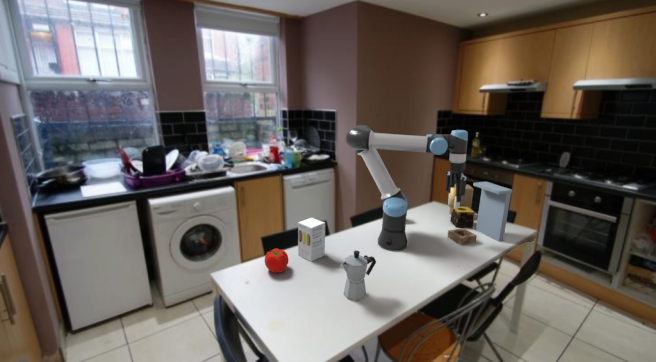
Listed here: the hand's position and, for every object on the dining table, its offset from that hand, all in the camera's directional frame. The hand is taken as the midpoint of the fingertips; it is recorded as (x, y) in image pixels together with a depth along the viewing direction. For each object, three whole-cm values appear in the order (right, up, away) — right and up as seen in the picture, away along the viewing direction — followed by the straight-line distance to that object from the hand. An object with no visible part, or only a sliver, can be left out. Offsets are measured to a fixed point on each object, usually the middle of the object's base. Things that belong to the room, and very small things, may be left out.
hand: (453, 206), depth 164 cm
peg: (0, 0, 0) cm, 0 cm away
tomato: (-87, -26, -25) cm, 94 cm away
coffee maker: (-53, -31, -41) cm, 74 cm away
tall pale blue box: (+22, -17, +12) cm, 30 cm away
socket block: (+7, -19, +6) cm, 21 cm away
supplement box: (-73, -23, -12) cm, 77 cm away
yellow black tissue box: (+15, -14, +27) cm, 34 cm away
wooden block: (+20, -10, +41) cm, 46 cm away
